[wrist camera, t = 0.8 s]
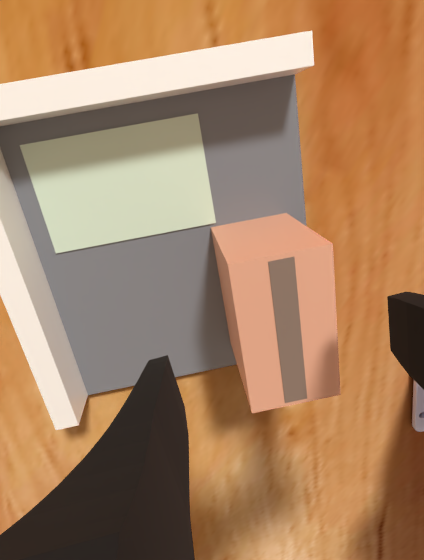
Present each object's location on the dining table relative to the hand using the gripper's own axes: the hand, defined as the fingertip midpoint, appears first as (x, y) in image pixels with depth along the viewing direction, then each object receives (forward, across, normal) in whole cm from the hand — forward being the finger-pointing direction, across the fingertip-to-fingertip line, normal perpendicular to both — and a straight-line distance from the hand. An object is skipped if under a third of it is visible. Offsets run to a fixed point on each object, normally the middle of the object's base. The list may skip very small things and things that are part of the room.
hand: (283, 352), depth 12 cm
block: (+9, -1, +2) cm, 9 cm away
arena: (+10, +3, -2) cm, 10 cm away
